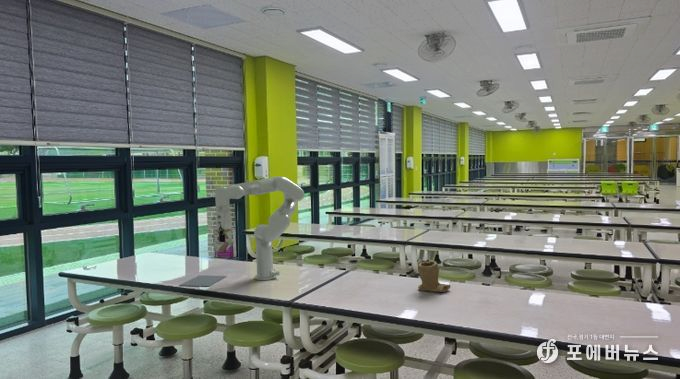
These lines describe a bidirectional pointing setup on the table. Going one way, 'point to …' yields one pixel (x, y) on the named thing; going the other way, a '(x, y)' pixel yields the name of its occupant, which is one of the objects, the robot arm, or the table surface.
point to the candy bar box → (225, 244)
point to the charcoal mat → (203, 281)
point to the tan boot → (430, 277)
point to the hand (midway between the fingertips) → (224, 240)
